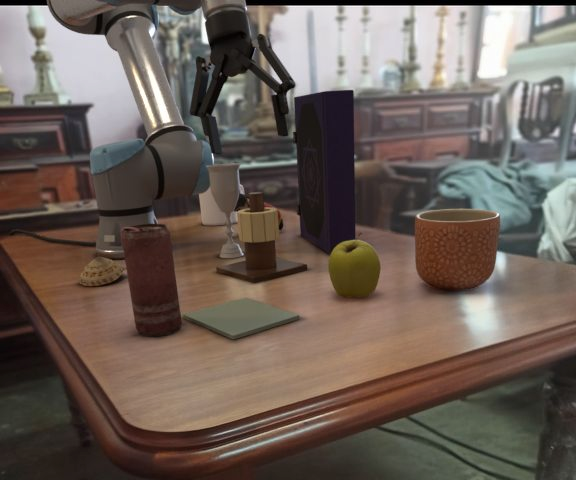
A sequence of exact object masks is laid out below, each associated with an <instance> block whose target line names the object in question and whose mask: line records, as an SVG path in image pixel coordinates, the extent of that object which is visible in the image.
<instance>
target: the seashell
mask: <svg viewBox="0 0 576 480" xmlns="http://www.w3.org/2000/svg"><path fill="white" fill-rule="evenodd" d="M124 271H127V269H126V266H125V265H121V264H119V262H117V261H115V260H113V259H110V258H103V257H99V256H96V257H95V258H94V259H92V260H91V261H90V262H89V263H88V264H87V265H86V266H85V267H84V268H83V270H82V271H81V273H80V275H79V280H78V282H79V285H81V286H84V287H97V286H104V285H106V284H110V283H112V282H114V281H116V280H118V279H119V278H120V277H121V276H122V275H123V272H124Z"/></svg>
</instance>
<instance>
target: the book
mask: <svg viewBox="0 0 576 480" xmlns="http://www.w3.org/2000/svg"><path fill="white" fill-rule="evenodd" d="M354 92H355V91H354V90H353V89H342V90H341V89H340V90H324V91H318V92H315V93H308V94H304V95H298V96H294V97H293V104H294V105H293V107H294V127H295V131H293V132H292V137H293V138H292V139H293V142H292V143H293V144H295V147H296V164H297V165H296V167H297V168H296V170H297V189H298V190H297V191H298V192H297V193H298V203H296V215H297V216H299V232H300V236H301V237H302V238H304V239H305V240H307V241H308V242H309V243H311V244H313V245H315V246H316V247H318V248H319V249H321V250H322V251H323V252H325V253H327V254H328V255H329V256H330V255H331V253H332V251H333V249H334V248H335V247H336V246H337V245H338V244H340V243H342V242H345V241H350V240H356V239H357V237H356V173H355V170H356V167H355V166H356V165H355V108H354V107H355V100H354V99H355V97H354V94H355V93H354Z"/></svg>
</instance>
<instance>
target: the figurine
mask: <svg viewBox="0 0 576 480" xmlns="http://www.w3.org/2000/svg"><path fill="white" fill-rule="evenodd" d="M264 207H268V208H276V207H275V206H273V205H271V204H269V203H267V202H265V201H264ZM248 208H250V206H249V196H246V195H245V193H244V194H241V193H239V197H238V201H237V204H236V207H235V209H234V211H235V212H237V211H240V210H242V209H248ZM278 224H279V231H282V230H283V229H284V220H283V218H282V212H281V211H280V210H279V209H278Z"/></svg>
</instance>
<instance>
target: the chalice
mask: <svg viewBox="0 0 576 480" xmlns="http://www.w3.org/2000/svg"><path fill="white" fill-rule="evenodd" d="M206 167H207V169H208V171H209V177H210V187H211V193H212V195H213V198H214V200H215V202H216V204H217V205H218V207H219V209H220V211H221V212H223V213H225V215H226V222H225V224H226V225H225V226H226V231H225V232H224V233H225V234H226V236H227V241H226V243H224V244H222V247H221V250H220V254H219V257H220V258H222V259H235V258H240V257H244V256H245V253H244V252H243V251H242V248H241V247H240V245H239V243H236V242H235V241H234V240H233V233H234V232H235V231H234V230H233V229H232V225H233V224H232V221H231V218H230V213H231V212H233V211H234V209H235V207H236V204H237V201H238V197H239V194H241V193H240V184H241V182H240V167H241V163H238V162H237V163H216V164H215V163H214V165H208V166H206Z"/></svg>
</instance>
